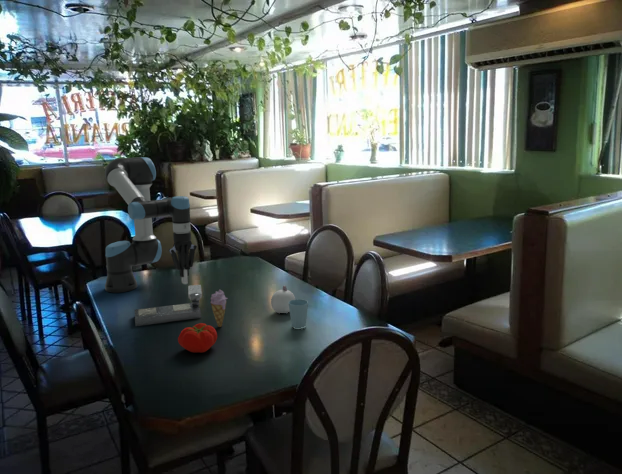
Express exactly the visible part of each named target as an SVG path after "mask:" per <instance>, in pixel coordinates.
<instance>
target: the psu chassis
mask: <svg viewBox="0 0 622 474" xmlns="http://www.w3.org/2000/svg"><path fill="white" fill-rule="evenodd" d="M201 318H202V312H201V308H200V300H199V301H191V302H188V303H179V304H178V303H177V304H173V305H172V304H171V305H164V306H153V307H145V308H138V309H134V324H135V327H140V326H149V325H155V324H163V323H171V322H179V321H187V320H193V319H201Z"/></svg>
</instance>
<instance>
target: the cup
mask: <svg viewBox="0 0 622 474" xmlns="http://www.w3.org/2000/svg"><path fill="white" fill-rule="evenodd" d="M308 307H309V301H308V300H306V299H303V298H302V299H301V298H297V299H296V298H295V300H291V301H289V309H290V312H289V315H290V323H291V327H292V326H293V327H295V328H301V327H304V326H306V327H307V319H308V309H309V308H308Z"/></svg>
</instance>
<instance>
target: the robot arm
mask: <svg viewBox="0 0 622 474" xmlns="http://www.w3.org/2000/svg"><path fill="white" fill-rule="evenodd" d="M156 177H157V171H156V167H155V164H154V162H153V161H152V159H151V158H150V157H142V156H139V157H137V156H136V157H118V158H115V159H113V160H111V161H110V162H109V163H108V164H107V166H106V167H105V169H104V178H105V180H106V182H107V183H108V184H109V185H110V186H111V187H113V188H114V189H115V191H117V192H118V194H119V195H120V196H121V197H122V199H123V201H125V203H126V204H127V205H128V206H127V212H128V217H129V218H130V219H131V220H133V221H134V222H133V223H134V233H135V234H134V236H133V238H132V243H131V241H130V240H119V241H116V242H112V243H110V244H108V245H106V247H105V259H106V260H105V261H106V271H107V275H106V281H105V283H104V289H105V292H107V293H113V294H115V293H118V294H119V293H126V292H130V291H134V290H135V289H137V287H138V281H137V279H136V278H135V274H134V273H133V267H136V266H141V265H146V264H148V265H149V264H153V263H156V262H159V260H160V259H161V257H162V252H163V251H162V250H163V249H162V244H161V240H159V239H157V236H155V234H154V232H153V231H154V230H153V229H154V228H153V219H154V218H162V217H171V219H172V220H171V221H172V232H173V233H172V235H173V236H172V237H173V238H172V239H173V246H172V247H171V248H169V249H168V253H170V255H171V258H172V262H173V266H174V269H175V270H179V277H180V279H181V284H183V285H188V283H189V282H188V281H189V280H188V277H189V275H190V273H189V272H190V271H189V270H190V269H191V268H192V267H193V265H194V260H195V259H194V258H195V254H196V253H195V252H196V249H197V248H198V246H197V245H195V244H193V243H192V232H191V230H192V229H191V228H192V227H191V208H190V206H191V204H190V198H189V197H188V196H185V195H184V196H183V195H182V196H181V195H177V196H172V197H164V198H162V199H153V200H151V193H150V192H151V190H150V188H151V186H152V185H153V181H155V180H156Z"/></svg>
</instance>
